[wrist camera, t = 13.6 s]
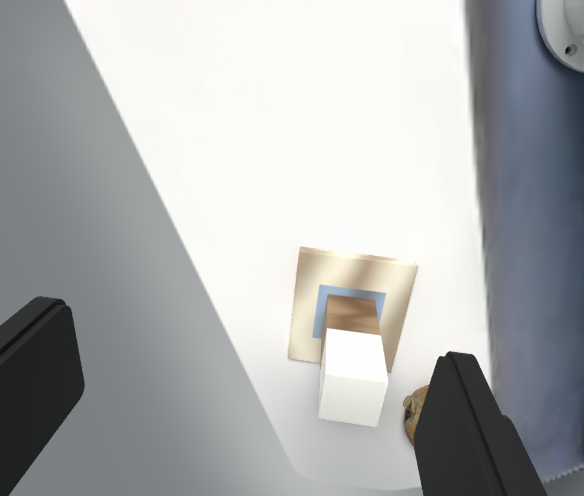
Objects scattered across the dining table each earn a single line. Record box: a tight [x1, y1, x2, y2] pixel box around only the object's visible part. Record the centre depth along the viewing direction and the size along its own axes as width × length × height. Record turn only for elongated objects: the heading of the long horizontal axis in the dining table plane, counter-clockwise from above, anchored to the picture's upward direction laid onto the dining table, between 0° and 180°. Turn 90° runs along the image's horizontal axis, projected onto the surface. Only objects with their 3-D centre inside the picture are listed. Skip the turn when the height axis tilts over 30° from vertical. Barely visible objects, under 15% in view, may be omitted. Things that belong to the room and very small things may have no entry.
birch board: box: [288, 247, 418, 373], centre depth 45 cm, size 12×14×1 cm
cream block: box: [318, 328, 388, 427], centre depth 36 cm, size 5×5×6 cm
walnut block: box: [320, 294, 381, 368], centre depth 41 cm, size 5×5×6 cm
